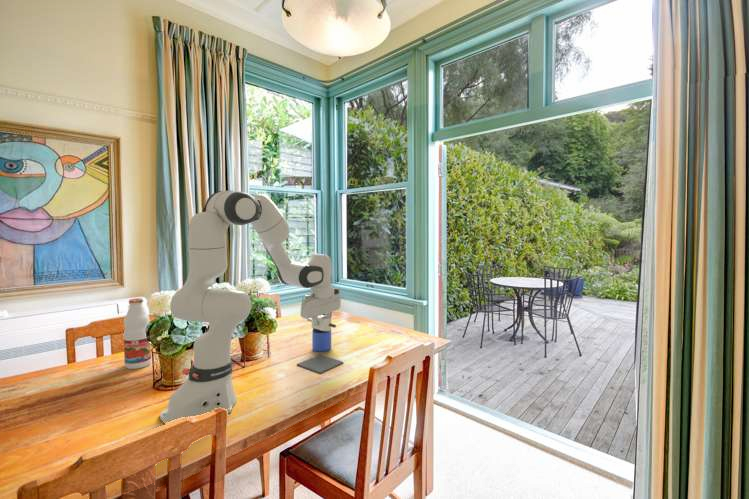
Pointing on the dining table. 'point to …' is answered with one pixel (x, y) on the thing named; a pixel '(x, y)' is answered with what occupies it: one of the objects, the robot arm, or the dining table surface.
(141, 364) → the fruit juice
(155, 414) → the dining table surface
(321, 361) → the mat
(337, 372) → the dining table surface
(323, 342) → the water bottle
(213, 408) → the robot arm
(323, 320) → the plug
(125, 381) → the dining table surface
